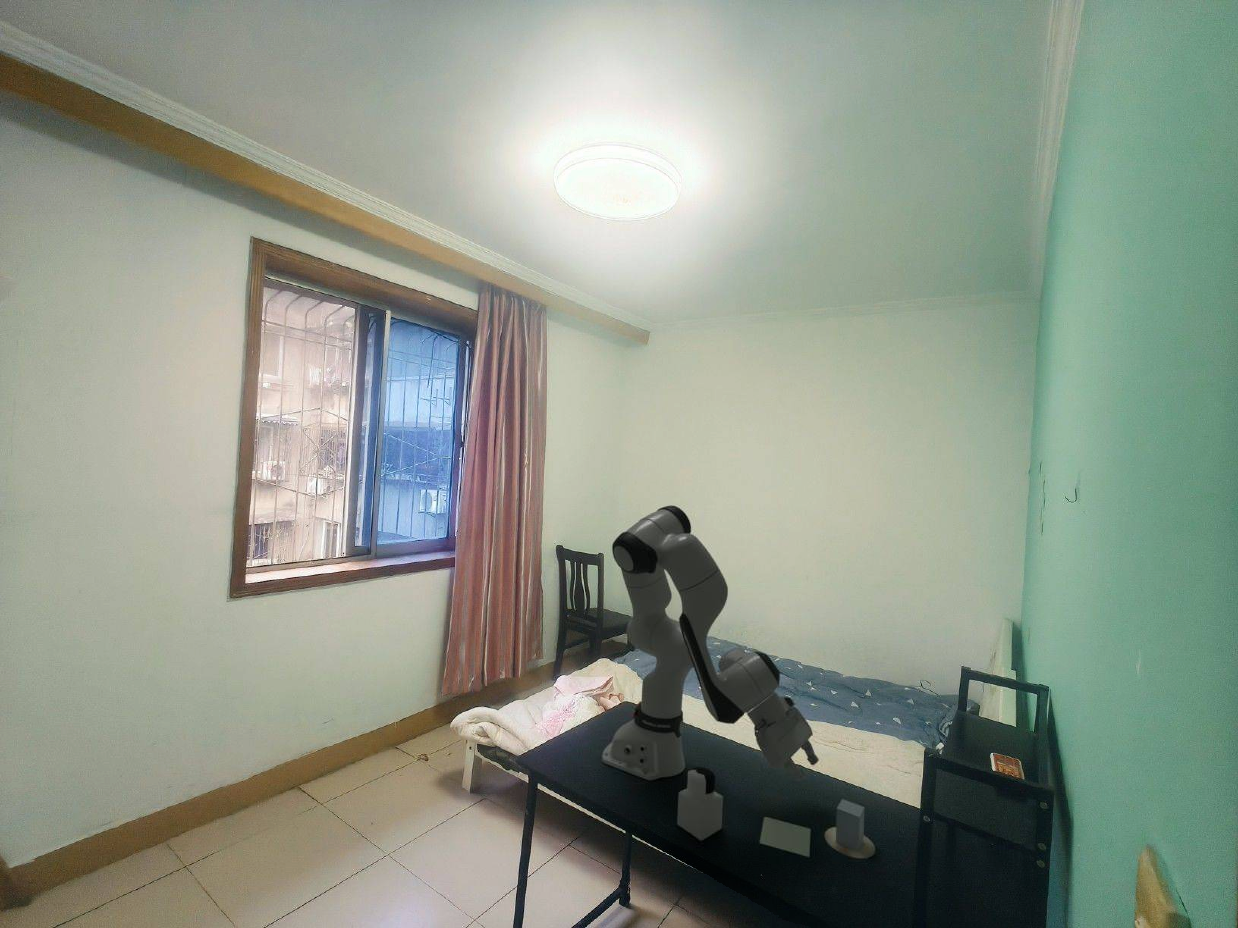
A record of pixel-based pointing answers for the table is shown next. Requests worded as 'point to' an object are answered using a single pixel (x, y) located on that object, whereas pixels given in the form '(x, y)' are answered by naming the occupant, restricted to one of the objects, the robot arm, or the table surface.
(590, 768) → the table surface
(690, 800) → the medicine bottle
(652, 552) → the robot arm
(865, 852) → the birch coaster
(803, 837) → the sage mat
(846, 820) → the grey block
